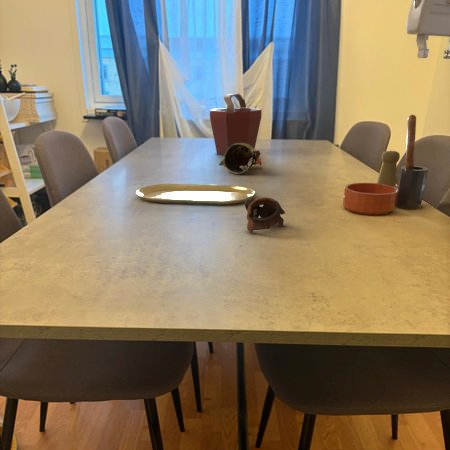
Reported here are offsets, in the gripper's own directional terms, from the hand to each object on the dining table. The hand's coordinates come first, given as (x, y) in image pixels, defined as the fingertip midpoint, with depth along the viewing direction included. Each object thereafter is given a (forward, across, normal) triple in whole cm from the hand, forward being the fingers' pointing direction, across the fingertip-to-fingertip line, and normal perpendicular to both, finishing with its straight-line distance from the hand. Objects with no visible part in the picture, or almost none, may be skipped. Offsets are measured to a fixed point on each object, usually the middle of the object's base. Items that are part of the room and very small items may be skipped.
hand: (435, 58), depth 101 cm
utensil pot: (+35, 0, 0) cm, 35 cm away
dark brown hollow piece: (+35, -45, +4) cm, 57 cm away
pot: (+35, -13, +62) cm, 72 cm away
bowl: (+35, -11, +3) cm, 37 cm away
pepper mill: (+35, +12, +18) cm, 42 cm away
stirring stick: (+34, 0, 0) cm, 34 cm away
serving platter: (+35, -45, +39) cm, 69 cm away
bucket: (+35, +6, +102) cm, 108 cm away
